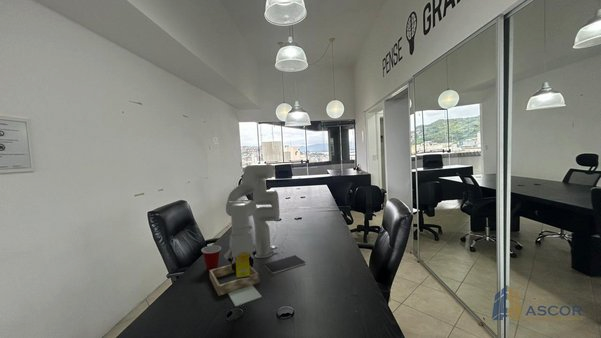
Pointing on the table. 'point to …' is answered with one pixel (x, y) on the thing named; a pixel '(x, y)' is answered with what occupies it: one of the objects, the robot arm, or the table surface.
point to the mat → (244, 295)
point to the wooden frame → (233, 284)
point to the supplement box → (242, 266)
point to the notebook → (284, 264)
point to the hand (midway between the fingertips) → (242, 268)
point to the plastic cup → (211, 256)
